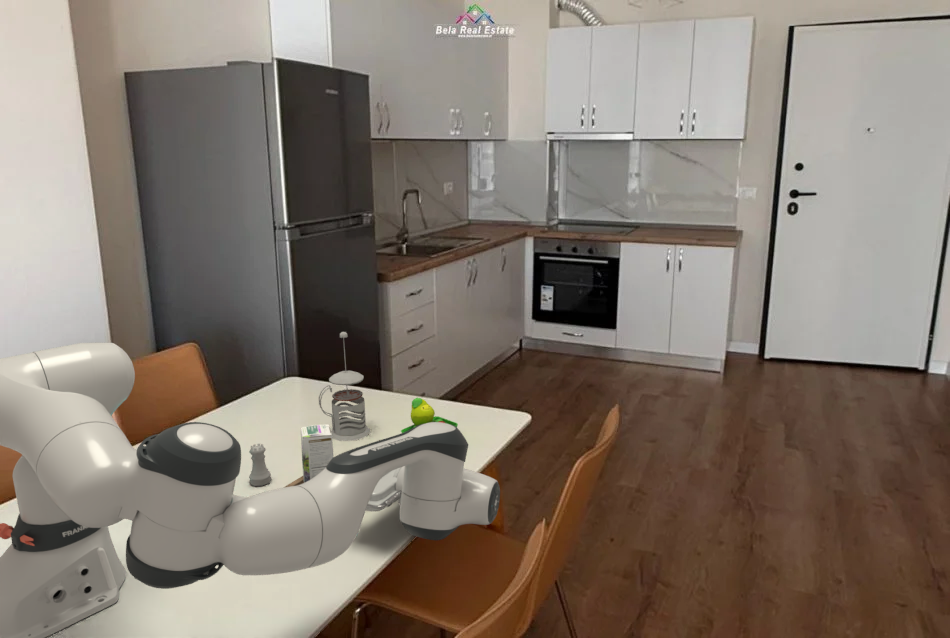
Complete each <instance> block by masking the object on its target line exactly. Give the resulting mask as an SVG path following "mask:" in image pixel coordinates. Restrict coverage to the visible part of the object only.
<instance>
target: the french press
mask: <svg viewBox="0 0 950 638" xmlns="http://www.w3.org/2000/svg"><path fill="white" fill-rule="evenodd" d="M348 337H349V336H348V333H347V331H341V332H340V333H339V338H341V339H343V340H342V342H343V353H344V354H343V355H344V356H343V357H344V358H346V349H345V347H346V346H345V338H348ZM346 361H347V360H346V359H344V368H345V369H344V370H342V371H339V372H337V373H334V374H333V375H331V376H330V377H329V378H328V381H329V382H330V384H332V385H335V386H336V385H337V386H346V387H345V388H346V389H342V390H337V391H335V392H334V393H333V387H331V385H329V384H327V385H326V386H325V387H323V388H322V389H321V390H320V393H319V395H318V406H319V408H320V410H321V411H322V412H323V414H324V415H326V416H327V417H330V418H331V425H332V426H331V427H332V429H331V433H332V440H337V441H343V442H349V441H356V440H360V439H364V438H366V437H367V436H368V434H369V435H370V433H371V428H370V427H368V426H367V419H366V407H365V406H366V405H365V398H364V397H363V395H364V393H363V391H361V390H359V389H352V388H351V389H348V388H349V387H348V386H350V385H356V384H359V383H361V382H362V381H363V380H364V375H363V374H361V373H360V372H357V371H353V370H347V364H346ZM327 387H328V388H327ZM327 390H329V392H330V393H333V394H332V396H331V397H332V398H333V399H332V400H331V411H332V413H329V412H327V411H325V410H324V409H323V407H322V398H323V395H324V393H326V391H327ZM338 402H339V403H338ZM349 402H350V403H349ZM351 403H352V404H351ZM346 411H348V412H346ZM349 412H350V413H349Z"/></svg>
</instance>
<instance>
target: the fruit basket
mask: <svg viewBox="0 0 950 638" xmlns="http://www.w3.org/2000/svg"><path fill="white" fill-rule="evenodd" d="M410 410H411V411H410V420H411V422H412V425H410V426H409V425H408V426H407V427H405V428H403V429H401V430H400V432H401V433H404V432H406V431H408V430H410V429H412V428H414V427H416V426H418V425H421V424H426V423H430V422H442V423H447V424H450V425H454V426H456V427H457V428H458V425H459V424H458V423H457V422H455V421H452V420H450V419H446V418H444V417H442V416H441V417H440V416H435V415H436V413H435V410H434V408H433V407H432V406H431V405H430V404H428V402H427V401H426V400H425V399H423V398H421V397H416V398H413V400H412V401H411V409H410Z"/></svg>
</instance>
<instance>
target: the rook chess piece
mask: <svg viewBox="0 0 950 638" xmlns="http://www.w3.org/2000/svg"><path fill="white" fill-rule="evenodd" d="M266 450H267V449H266V447H264V444H263V443H257V445H256V444H255V443H254V444H253V445H250V449H249V452H248V453H249V454H250V455H251V458H250V460H251V462H252V466H251V471H250V474H249V484H250V485H251V486H253V487H264V486H266V485H268V484H270V482H271V480H272V474H271V471H270V470H269V468H267V464H266V459H265V458H266V455H265V452H266Z"/></svg>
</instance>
